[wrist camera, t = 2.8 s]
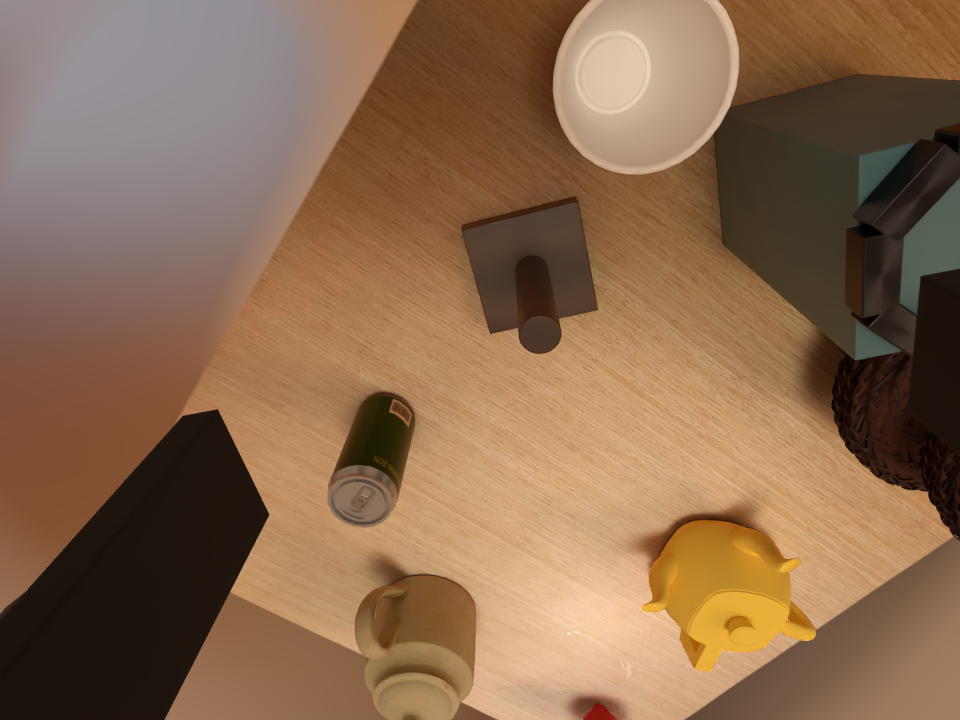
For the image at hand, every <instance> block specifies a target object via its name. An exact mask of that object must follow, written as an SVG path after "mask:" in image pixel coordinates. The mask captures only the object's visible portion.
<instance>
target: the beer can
mask: <svg viewBox="0 0 960 720" xmlns="http://www.w3.org/2000/svg"><path fill="white" fill-rule="evenodd" d="M414 426H415V418H414V415H413V412H412V410H411V409H410V407H409V406H408V404H407V403H406V402H405V401H403V400H402V399H401V398H399V397H396V396H394V395H389V394H381V395H376V396H374V397H372V398H370V399H368V400H366V401H365V402H364V403H363V404H362V405H361V406H360V407H359V410H358V412H357V414H356V417H355V419H354V422H353V424H352V427H351V429H350V432H349V434H348V437H347V439H346V442H345V444H344V447H343V449H342V452H341V454H340V457H339V459H338V462H337V464H336V467H335V469H334V472H333V474H332V477H331V479H330V482H329V484H328V505H329V507H330V510H331V511H332V513H333V514H334V515H335V516H336V517H337V518H338V519H340V520H341V521H343V522H344V523H347V524H349V525H352V526H356V527H371V526H375V525H378V524H380V523H382V522H383V521H385V520H386V519H387V518H388V517H389V515H390V513H391V511H392V510H393V509H394V507H395V505H396V503H397V500H398V496H399V492H400V487H401V483H402V479H403V474H404V470H405V466H406V462H407V457H408V453H409V449H410V444H411V440H412V436H413V431H414Z"/></svg>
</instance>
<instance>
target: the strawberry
mask: <svg viewBox="0 0 960 720" xmlns="http://www.w3.org/2000/svg"><path fill="white" fill-rule="evenodd" d="M583 720H617V719H616V718H615V717H614V716H613V715H612V714H611V713H610V712H609V711H608V710H607V709H606V708H605V707H604V706H603V705H601V704H595V705H594V706H593V707H592V709H591V710H590V712H589V713H588V714H587V715H586V716H585V717H584V719H583Z"/></svg>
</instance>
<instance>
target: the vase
mask: <svg viewBox="0 0 960 720" xmlns="http://www.w3.org/2000/svg"><path fill="white" fill-rule="evenodd" d="M899 353H900V355H899ZM896 355H897V356H896ZM912 359H913V358H912V357H910V356H909V355H907V354H906V353H904V352H903V353H902V351H901V352H896V353H891V354H886V355H880V356H875V357H870V358H867V360H866V358H865V359H860V360H854V359H853V358H852V357H850V356H849V355H848V354H847V353H846V352H845V354H844V358H843V359H842V360H841V362H840V364H839V368H838V372H837V374H836V377H835V382H834V386H833V390H832V395H833V394H834V395H833V398H834V399H833V400H832V410H833V411H834V413H835V416H834V421H835V423H836V425H837V426H838V431H839V434H840V436H841V438H842V439H843V440H844V441H845V445H846V447H847V449H848V450H849V451H850V452H851V453H852V454H855V456H856V458H857V459H858V460H859V462H860V463H861V464H862V465H863V464H864V466H865V465H866V466H865V467H867V468H869V469H870V471H871V472H872V473H873V474H874V475H875V476H876V477H877V478H880V479H882V480H884V481H886V482H887V483H889V484H891V485H894V484H897V485H896V486H901V487H902V488H904V489H907V490H920V491H926V492H928V493H929V494H928V497H929V500H930V501H931V503H932V504H933V505H935V506H936V509H937V511H938V512H939V514H940V518H941V520H942V522H943V523H944V524H945V525H946V526H947V527H949V528H950V531H951V533H952V535H953V536H954V535H956V536H959V538H956V539H958V540H960V456H958V455H957V454H956V453H955V452H954V451H953V450H952V449H950V448H949V447H948V446H947V445H946V444H945V443H944V442H942V441H941V440H940V439H939V438H938V437H937V436H936V435H934V434H933V433H932V432H931V431H930V430H929V429H928V428H926V427H925V426H924V425H923V424H922V423H921V422H920V421H918V420H917V419H916V418H915V417H914V416H913V415H912V414H910V413H909V412H908V400H909V390H910V380H911V377H910V376H911V370H912ZM887 372H888V373H887ZM859 373H860V374H859ZM908 377H909V378H908ZM887 380H889V381H887ZM882 385H884V386H882ZM866 439H868V440H866ZM955 464H956V465H955ZM943 519H944V521H943ZM954 537H955V536H954Z"/></svg>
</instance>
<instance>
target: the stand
mask: <svg viewBox="0 0 960 720" xmlns="http://www.w3.org/2000/svg"><path fill="white" fill-rule="evenodd" d="M959 123H960V81H959V80H944V79H928V78H913V77H897V76H882V75H866V74H858V75H854V76H850V77H846V78H843V79H839V80H835V81H831V82H827V83H823V84H820V85H816V86H812V87H808V88H804V89H801V90H797V91H793V92H789V93H785V94H781V95H778V96H774V97H770V98H766V99H762V100H759V101H755V102H751V103H747V104H743V105H739V106H736V107H732V108H729V109H728V111H727V113H726V115H725V117H724V119H723V121H722V122H721V124H720V126H719V127H718V128H717V130H716V131H715V132H714V138H715V151H716V163H717V175H718V188H719V200H720V213H721V225H722V238H723V245H724V246H725V247H726V248H727V249H729V250H730V251H731V252H732V253H733V254H734V255H735V256H737V257H738V258H739V259H740V260H741V261H742V262H743V263H745V264H746V265H747V266H748V267H749V268H750V269H751V270H752V271H754V272H755V273H756V274H757V275H758V276H759V277H760V278H762V279H763V280H764V281H765V282H766V283H767V284H768V285H770V286H771V287H772V288H773V289H774V290H775V291H776V292H778V293H779V294H780V295H781V296H782V297H783V298H784V299H786V300H787V301H788V302H789V303H790V304H791V305H792V306H793V307H795V308H796V309H797V310H798V311H799V312H800V313H801V314H803V315H804V316H805V317H806V318H807V319H808V320H809V321H811V322H812V323H813V324H814V325H815V326H816V327H817V328H819V329H820V330H821V331H822V332H823V333H824V334H825V335H827V336H828V337H829V338H830V339H831V340H832V341H833V342H834V343H836V344H837V345H838V346H839V347H840V348H841V349H842V350H844V351H845V352H846V353H847V354H848V355H849V356H850V357H852V358H853V359H854V360H860V359H865V358H870V357H875V356H880V355H886V354H891V353H896V352H901V350H900V349H898V348H897V347H895V346H893V345H892V344H890V343H889V342H887V341H886V340H884V339H883V338H881V337H880V336H878V335H877V334H875V333H874V332H872V331H871V330H869V329H868V328H866V327H865V326H864V325H862V324H861V323H860V322H858V321H857V320H856V319H854V318H853V317H852V316H851V315H850V314H851V313H852V312H853V311H852V310H850V309H849V308H848V307H846V306H845V263H846V229H847V228H851V227H856V226H860V225H863V224H861V223H860V222H858V221H857V220H856V219H854V218H853V217H852V215H853V214H854V213H855V211H856V210H857V209H858V208H859V207H860V206H861V205H862V204H863V202H864V201H865V200H866V199H867V198H868V197H869V196H870V195H871V193H872V192H873V191H874V190H875V189H876V188H877V187H878V186H879V184H880V183H881V182H882V181H883V180H884V179H885V178H886V176H887V175H888V174H889V173H890V172H891V171H892V170H893V169H894V167H895V166H896V165H897V164H898V163H899V162H900V161H901V160H902V158H903V157H904V156H905V155H906V154H907V153H908V152H909V151H910V149H911V148H912V147H913V146H914V145H915V144H916V143H917V142H918V140H919V139H921V138H922V139H927V140H931V141H934V134H935V130H936V129H939V128H943V127H947V126H951V125H955V124H959ZM955 269H960V179H959V180H958V181H957V182H956V183H955V184H954V185H953V186H952V187H951V188H950V189H949V190H948V191H947V192H946V193H945V194H944V196H943V197H942V198H941V199H940V200H939V201H938V202H937V203H936V204H935V205H934V206H933V207H932V208H931V209H930V210H929V211H928V212H927V214H926V215H925V216H924V217H923V218H922V219H921V220H920V221H919V222H918V223H917V224H916V225H915V226H914V227H913V228H912V229H911V230H910V231H909V233H908V234H907V235H906V236H905V237H904V245H903V262H902V278H901V295H900V304H902V305H903V306H905V307H906V308H908V309H909V310H911V311H912V312H914V313H915V314H916V315H917V308H918V298H919V288H920V277H921V276H923V275H929V274H934V273H939V272H944V271H950V270H955Z"/></svg>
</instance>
